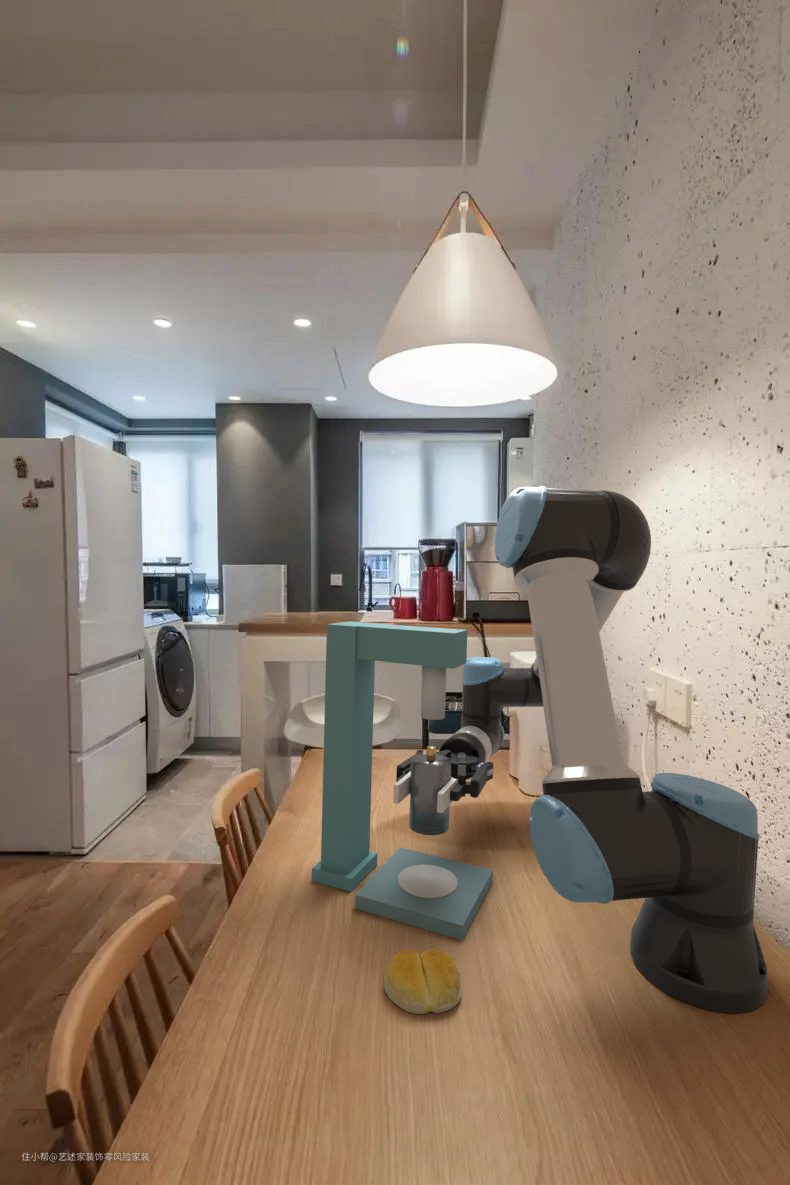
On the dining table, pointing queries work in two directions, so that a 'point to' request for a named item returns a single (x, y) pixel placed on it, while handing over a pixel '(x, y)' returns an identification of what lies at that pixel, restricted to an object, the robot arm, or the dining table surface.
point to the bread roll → (423, 981)
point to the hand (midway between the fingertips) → (417, 798)
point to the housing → (428, 792)
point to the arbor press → (409, 878)
